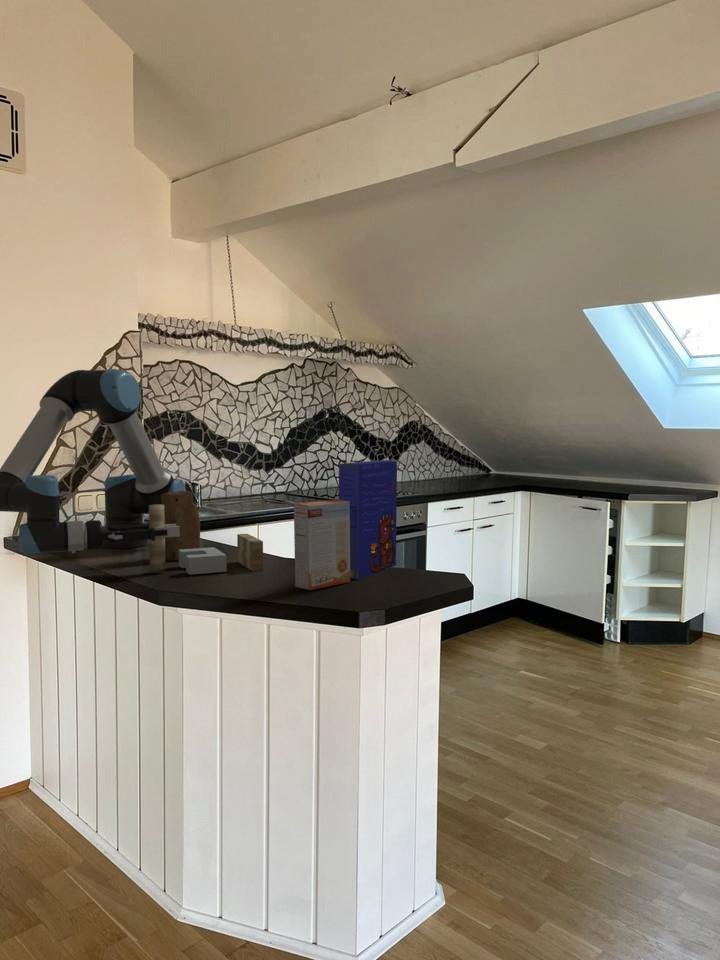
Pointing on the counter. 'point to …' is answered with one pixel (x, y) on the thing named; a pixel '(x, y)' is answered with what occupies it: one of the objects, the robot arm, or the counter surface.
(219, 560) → the block
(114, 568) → the counter surface
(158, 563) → the dowel
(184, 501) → the block
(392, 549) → the cereal box
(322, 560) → the cracker box
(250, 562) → the wall
